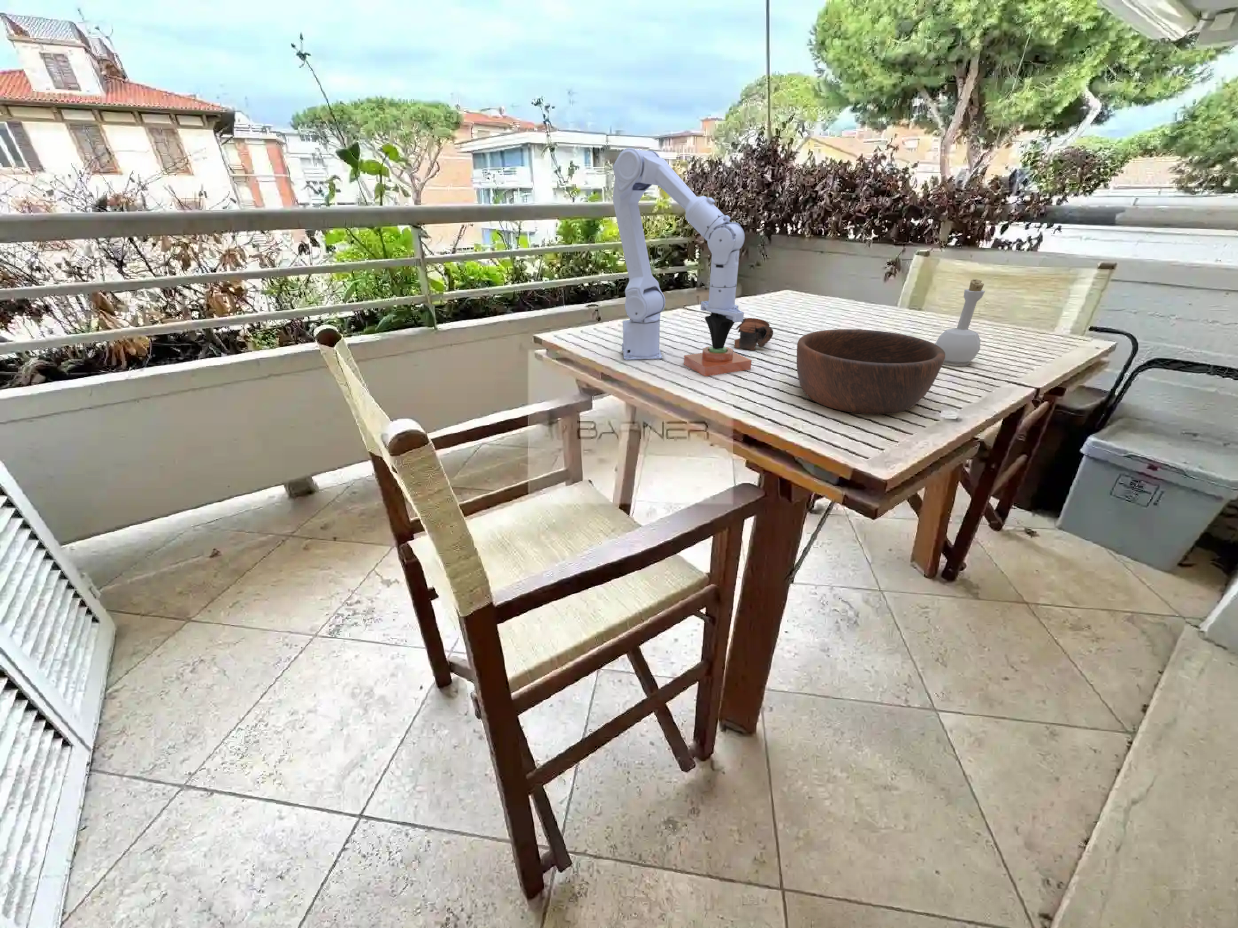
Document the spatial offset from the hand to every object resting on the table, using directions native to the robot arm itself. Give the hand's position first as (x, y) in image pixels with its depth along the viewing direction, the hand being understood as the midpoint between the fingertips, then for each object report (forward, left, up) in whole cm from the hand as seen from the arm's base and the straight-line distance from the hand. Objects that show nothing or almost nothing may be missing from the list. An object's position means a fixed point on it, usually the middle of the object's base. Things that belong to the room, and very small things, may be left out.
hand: (718, 348), depth 111 cm
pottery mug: (+13, +16, -5) cm, 21 cm away
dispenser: (0, 0, -4) cm, 4 cm away
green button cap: (0, 0, -2) cm, 2 cm away
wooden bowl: (+23, -21, -5) cm, 32 cm away
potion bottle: (+55, -1, -5) cm, 55 cm away
